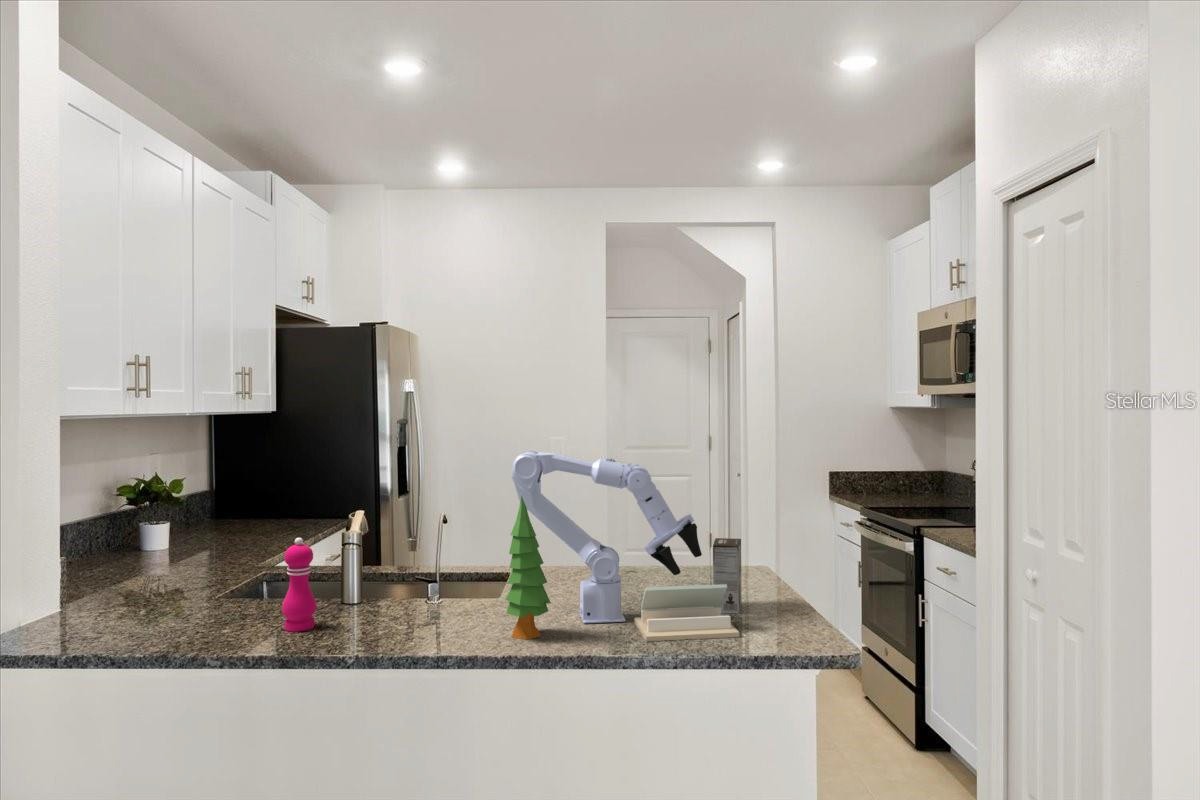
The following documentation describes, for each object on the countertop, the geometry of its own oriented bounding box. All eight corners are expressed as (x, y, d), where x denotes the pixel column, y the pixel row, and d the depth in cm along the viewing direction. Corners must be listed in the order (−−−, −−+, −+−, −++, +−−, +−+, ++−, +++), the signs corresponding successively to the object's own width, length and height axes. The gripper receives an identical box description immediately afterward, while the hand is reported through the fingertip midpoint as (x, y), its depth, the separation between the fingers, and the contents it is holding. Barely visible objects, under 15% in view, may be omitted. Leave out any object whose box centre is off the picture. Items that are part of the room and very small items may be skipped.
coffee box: (715, 602, 199) (714, 537, 199) (741, 603, 198) (741, 538, 197) (712, 612, 190) (712, 544, 190) (740, 614, 189) (740, 545, 188)
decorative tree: (510, 628, 178) (509, 492, 178) (552, 628, 178) (552, 492, 178) (503, 642, 169) (502, 498, 168) (548, 642, 168) (548, 498, 168)
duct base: (646, 641, 169) (646, 624, 169) (634, 622, 183) (634, 606, 183) (739, 637, 171) (739, 620, 171) (720, 618, 185) (720, 603, 185)
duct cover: (646, 590, 174) (645, 587, 175) (641, 609, 180) (640, 606, 180) (727, 587, 176) (726, 584, 177) (720, 606, 182) (719, 603, 183)
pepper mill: (284, 634, 175) (283, 541, 174) (280, 625, 181) (279, 536, 181) (319, 629, 178) (318, 538, 178) (314, 621, 184) (313, 533, 184)
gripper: (646, 526, 178) (677, 580, 178) (688, 494, 186) (718, 545, 186) (629, 531, 183) (659, 583, 183) (670, 500, 192) (700, 550, 192)
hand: (688, 564), depth 185 cm, fingers open, 7 cm apart
